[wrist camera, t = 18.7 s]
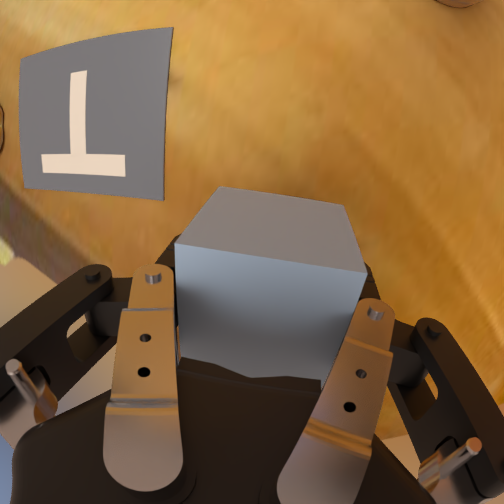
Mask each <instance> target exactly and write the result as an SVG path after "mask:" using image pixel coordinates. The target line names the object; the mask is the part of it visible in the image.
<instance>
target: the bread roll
mask: <svg viewBox="0 0 504 504" xmlns="http://www.w3.org/2000/svg"><path fill="white" fill-rule="evenodd" d="M2 125H3V112H2V109H1V107H0V149H1V146H2V143H3V126H2Z"/></svg>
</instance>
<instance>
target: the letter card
mask: <svg viewBox="0 0 504 504" xmlns="http://www.w3.org/2000/svg"><path fill="white" fill-rule="evenodd" d="M172 35H173V27H169V28H158V29H148V30H140V31H132V32H126V33H119V34H113V35H108V36H102V37H97V38H93V39H88V40H84V41H79V42H75V43H71V44H67V45H64V46H60V47H56V48H53V49H49V50H46V51H43V52H40V53H37V54H34V55H31V56H28V57H25V58H22V59H21V63H20V79H19V132H20V149H21V160H22V170H23V179H24V186H25V188H30V189H44V190H57V191H70V192H82V193H93V194H104V195H114V196H124V197H133V198H143V199H152V200H161V201H164V151H165V123H166V104H167V89H168V76H169V64H170V54H171V44H172Z"/></svg>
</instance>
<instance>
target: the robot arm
mask: <svg viewBox="0 0 504 504" xmlns="http://www.w3.org/2000/svg"><path fill="white" fill-rule="evenodd" d="M437 1H439V2H440V3H442V4H445V5H448V6H451V7H457V8H461V7H467V6H470V5H473V4H475V3H478V2H481V1H483V0H437ZM180 235H181V234H180ZM180 235H178V236H176V237H175V238H174V239H173V240H172V242H171V243H170V245H168V247H167V248H166V250H165V251H164V252H163V253H162V255H161V256H160V257H159V258H158V260H157V261H156V262H155V264H148V265H144V266H142V267H140V268H138V269H137V270H136V271H135V272H134V274H133V277H131V278H112V272H111V270H110V268H109V267H107V266H105V265H100V264H94V265H89V266H86V267H83V268H82V269H80V270H78V271H77V272H76V273H74V274H73V275H71V276H70V277H68V278H67V279H65V280H64V281H63V282H61V283H60V284H58V285H57V286H56V287H54V288H53V289H51V290H50V291H48V292H47V293H46V294H44V295H43V296H42V297H40V298H39V299H37V300H36V301H35V302H34V303H32V304H31V305H29V306H28V307H27V308H25V309H24V310H23V311H22V312H20V313H19V314H18V315H16V316H15V317H14V318H12V319H11V320H10V321H8V322H7V323H6V324H5V325H3V326H2V327H1V328H0V434H1V435H2V436H3V437H4V438H5V440H6V441H7V442H8V443H9V444H10V446H11V447H12V448H13V449H14V453H13V458H12V477H13V480H12V495H11V501H10V504H484V503H486V502H488V501H490V500H491V499H493V498H495V497H497V496H498V495H500V494H502V493H503V492H504V417H503V415H502V413H501V411H500V410H499V408H498V406H497V404H496V403H495V401H494V399H493V397H492V396H491V394H490V393H489V391H488V389H487V388H486V386H485V384H484V383H483V381H482V380H481V378H480V376H479V375H478V373H477V372H476V370H475V369H474V367H473V366H472V364H471V363H470V361H469V359H468V358H467V357H466V355H465V354H464V352H463V351H462V349H461V348H460V346H459V345H458V343H457V342H456V340H455V339H454V338H453V336H452V335H451V333H450V332H449V331H448V329H447V328H446V327H445V326H444V325H443V324H442V323H440V322H439V321H437V320H435V319H432V318H421V319H419V320H418V321H417V323H416V325H415V327H414V326H411V325H408V324H405V323H402V322H400V321H398V320H396V319H395V313H394V311H393V309H392V308H391V307H390V306H389V305H388V304H386V303H385V302H383V301H381V299H380V296H379V293H378V290H377V287H376V284H375V281H374V278H373V275H372V272H371V269H370V267H369V266H368V265H367V264H366V263H365V262H364V264H365V267H366V270H367V273H368V274H367V277H366V280H365V283H364V286H363V288H362V291H361V294H360V297H359V299H358V302H357V305H356V308H355V310H354V313H353V315H352V318H351V321H350V323H349V326H348V328H347V331H346V333H345V336H344V338H343V341H342V343H341V346H340V348H339V351H338V354H337V356H336V358H335V361H334V363H333V365H332V368H331V370H330V372H329V374H328V377H327V379H326V381H325V383H324V386H323V388H322V390H321V380H319V379H309V378H301V377H293V376H276V377H256V378H251V377H247V376H244V375H241V374H239V373H236V372H234V371H231V370H229V369H226V368H224V367H222V366H219V365H217V364H214V363H209V362H204V361H200V360H195V359H191V358H186V357H181V359H180V362H179V357H178V340H177V326H178V311H177V294H176V273H175V242H176V241H177V239H178V238H179V237H180ZM83 314H85V318H86V321H87V322H86V323H84V324H83V325H82V326H81V327H80V328H79V329H77V330H76V331H75V332H74V333H73V334H72V335H70V336H69V337H68V338H67V331H68V329H69V327H70V326H71V325H72V324H73V323H74V322H75V321H76V320H78V319H79V318H80V317H81V316H82V315H83ZM116 343H117V345H116V353H115V361H114V369H113V380H112V389H110V390H108V391H106V392H104V393H102V394H100V395H98V396H96V397H94V398H92V399H90V400H88V401H86V402H84V403H82V404H80V405H78V406H76V407H74V408H72V409H70V410H68V411H66V412H64V413H62V414H59V415H57V416H55V413H56V411H57V407H58V401H59V400H60V399H61V398H62V397H63V396H64V395H65V394H66V393H67V392H68V391H69V390H70V389H71V388H72V387H73V386H74V385H75V384H76V383H77V382H78V381H79V380H80V379H81V378H82V377H83V376H84V375H85V374H86V373H87V372H88V371H89V370H90V369H91V367H93V366H94V365H95V364H96V363H97V361H99V360H100V359H101V358H102V357H103V356H104V355H105V354H106V353H107V352H108V351H109V350H110V349H111V348H112V347H113V346H114V345H115V344H116ZM428 373H430V375H431V377H432V379H433V381H434V382H435V384H436V386H437V389H438V397H437V400H436V399H435V397H434V395H433V393H432V392H431V390H430V388H429V386H428V384H427V382H426V380H425V377H426V376H427V374H428ZM386 386H388V388H389V391H390V393H391V395H392V397H393V399H394V402H395V404H396V406H397V408H398V411H399V413H400V415H401V418H402V420H403V422H404V425H405V427H406V429H407V432H408V434H409V436H410V439H411V441H412V443H413V446H414V448H415V451H416V453H417V456H418V458H419V460H420V463H421V465H420V467H419V471H418V479H417V480H416V478H415V477H414V476H413V475H412V474H411V473H410V472H409V471H408V470H407V469H406V468H405V467H404V465H403V464H402V463H401V462H400V461H399V460H398V459H397V458H396V457H395V456H394V455H393V453H392V452H391V451H390V450H389V449H388V448H387V447H386V446H385V445H384V444H383V442H382V441H381V440H380V439H379V438H378V437H377V436H376V435H375V433H374V432H375V428H376V425H377V421H378V418H379V414H380V410H381V407H382V403H383V399H384V395H385V391H386Z"/></svg>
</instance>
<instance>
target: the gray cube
mask: <svg viewBox="0 0 504 504" xmlns="http://www.w3.org/2000/svg"><path fill="white" fill-rule="evenodd" d="M175 273H176V294H177V311H178V325H179V338H180V350H181V357H186V358H191V359H195V360H200V361H204V362H209V363H214V364H217V365H219V366H222V367H224V368H226V369H229V370H231V371H234V372H236V373H239V374H241V375H244V376H247V377H251V378H256V377H276V376H293V377H301V378H309V379H319V380H321V388H322V386H323V384H324V382H325V380H326V378H327V375H328V373H329V371H330V369H331V366H332V364H333V362H334V360H335V357H336V355H337V353H338V350H339V348H340V346H341V343H342V341H343V338H344V336H345V333H346V331H347V328H348V326H349V323H350V321H351V318H352V315H353V313H354V310H355V308H356V305H357V302H358V299H359V297H360V294H361V291H362V288H363V286H364V283H365V280H366V277H367V274H368V273H367V270H366V267H365V264H364V261H363V258H362V255H361V252H360V249H359V246H358V243H357V240H356V238H355V235H354V232H353V229H352V227H351V224H350V221H349V218H348V216H347V213H346V211H345V208H344V205H340V204H335V203H329V202H323V201H317V200H312V199H305V198H299V197H293V196H287V195H280V194H274V193H267V192H260V191H253V190H245V189H238V188H230V187H222V186H219V187H218V188H217V190H216V191H215V192H214V193H213V194H212V196H211V197H210V198H209V199H208V201H207V202H206V203H205V204H204V206H203V207H202V208H201V210H200V211H199V212H198V213H197V215H196V216H195V217H194V218H193V220H192V221H191V222H190V224H189V225H188V226H187V227H186V229H185V230H184V231H183V233H182V234H181V235H180V237H179V238H178V239H177V241H176V242H175Z"/></svg>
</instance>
